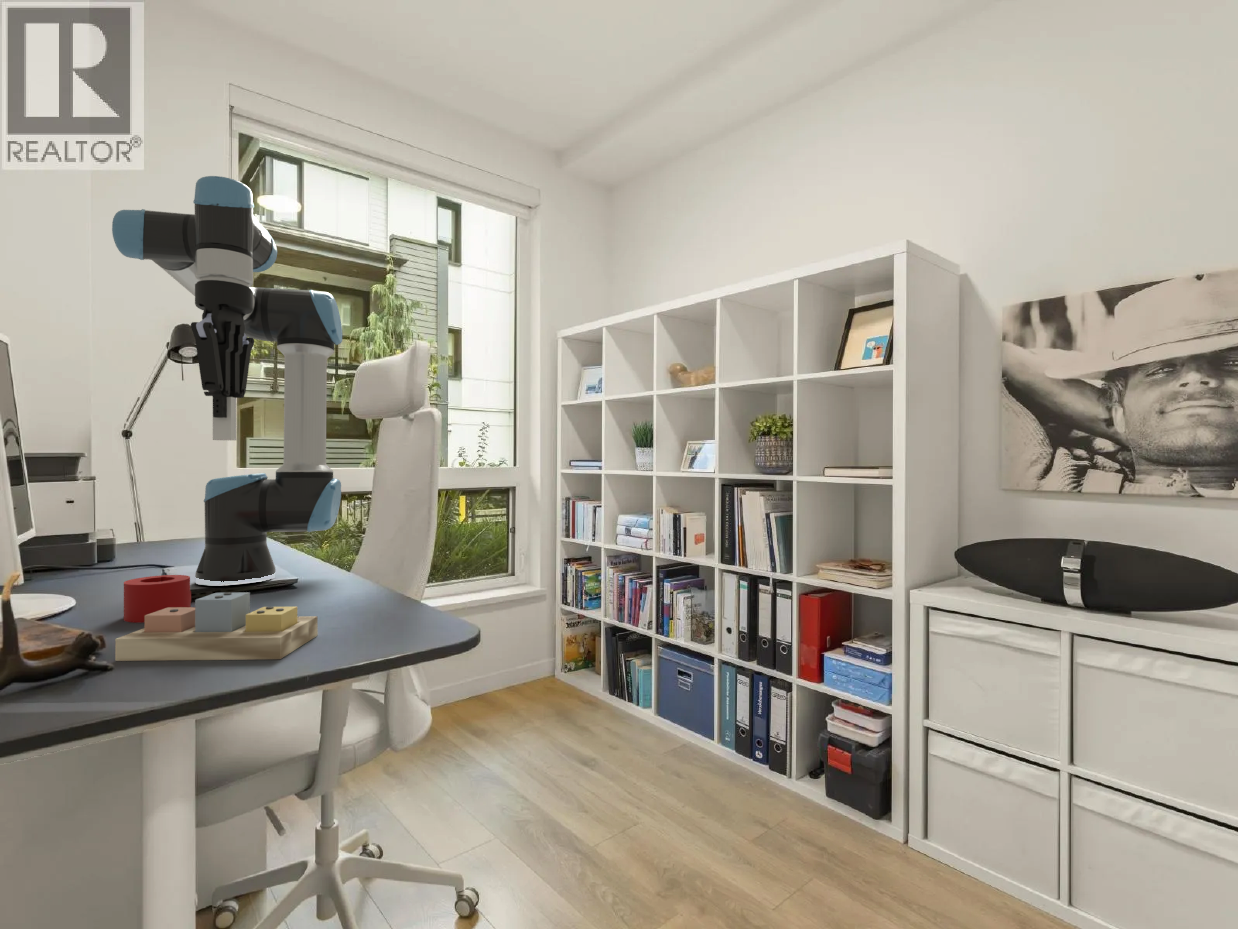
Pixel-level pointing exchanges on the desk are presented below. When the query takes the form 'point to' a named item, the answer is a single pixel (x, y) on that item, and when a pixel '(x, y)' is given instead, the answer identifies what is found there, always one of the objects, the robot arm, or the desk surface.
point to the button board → (215, 643)
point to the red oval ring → (154, 595)
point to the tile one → (170, 620)
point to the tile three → (271, 619)
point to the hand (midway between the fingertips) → (224, 440)
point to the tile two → (221, 612)
